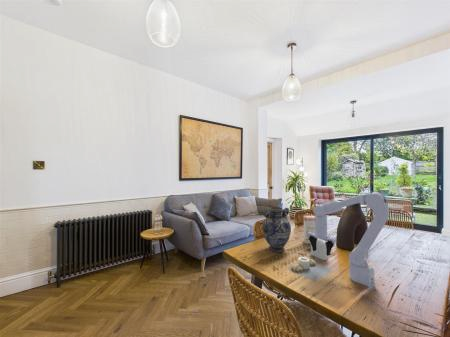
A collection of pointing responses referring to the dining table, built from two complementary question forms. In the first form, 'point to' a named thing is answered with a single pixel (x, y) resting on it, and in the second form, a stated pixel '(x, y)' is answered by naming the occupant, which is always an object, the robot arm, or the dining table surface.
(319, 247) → the photo printer
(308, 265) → the octagonal pipe segment
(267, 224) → the decorative vase
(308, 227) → the coffeecake box
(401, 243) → the dining table surface
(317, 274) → the gear board
